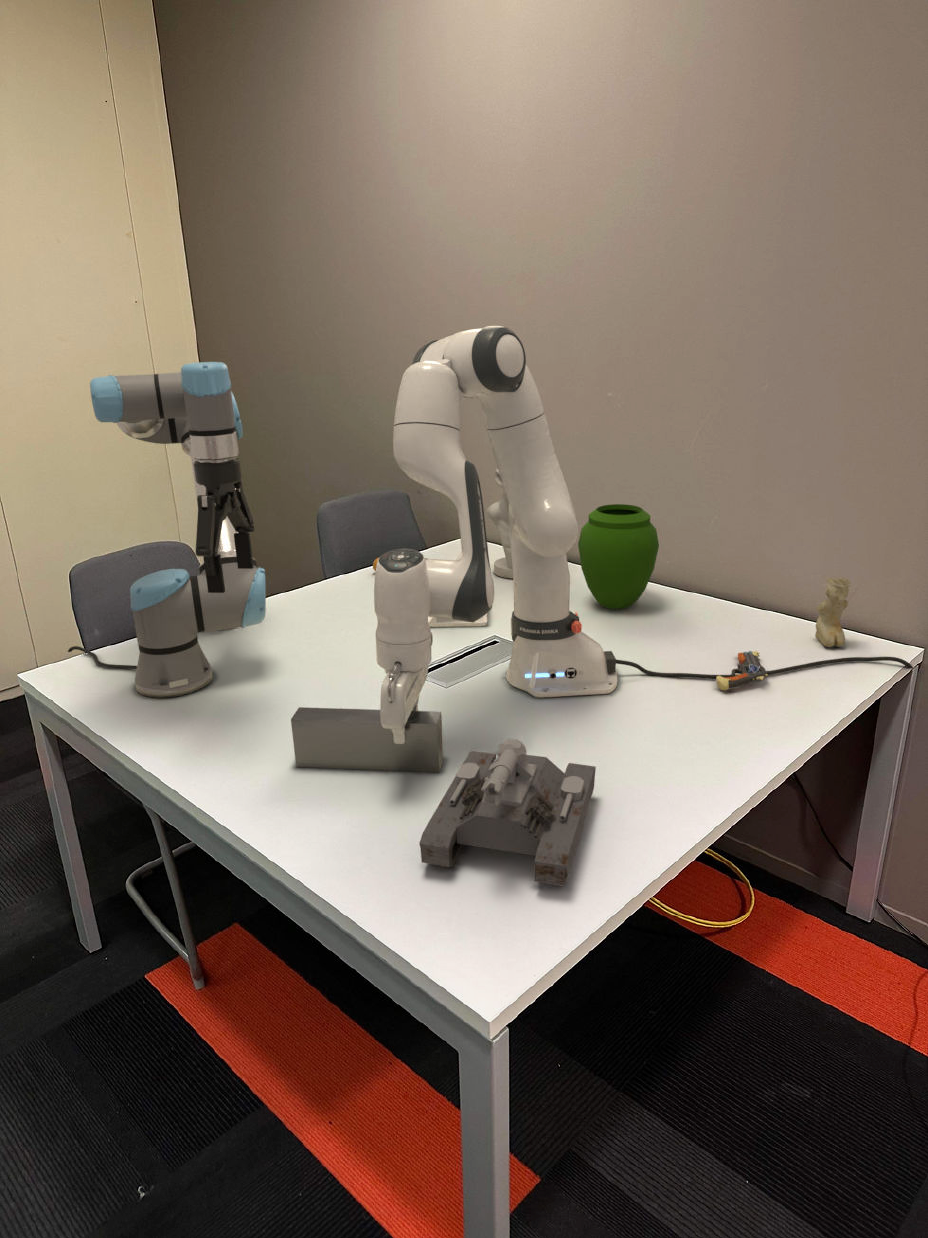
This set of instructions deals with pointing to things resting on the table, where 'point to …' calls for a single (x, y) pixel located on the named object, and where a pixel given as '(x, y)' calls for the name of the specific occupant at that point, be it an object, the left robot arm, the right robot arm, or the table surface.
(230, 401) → the left robot arm
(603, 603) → the vase
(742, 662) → the toy gun
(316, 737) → the bar
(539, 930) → the table surface
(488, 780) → the toy
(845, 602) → the sculpture
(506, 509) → the bust sculpture
